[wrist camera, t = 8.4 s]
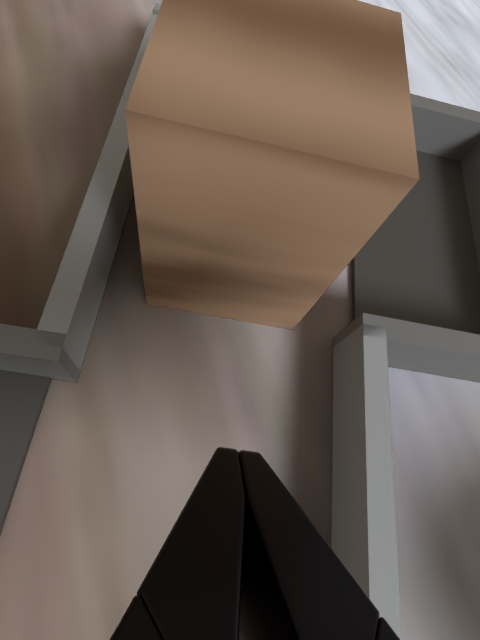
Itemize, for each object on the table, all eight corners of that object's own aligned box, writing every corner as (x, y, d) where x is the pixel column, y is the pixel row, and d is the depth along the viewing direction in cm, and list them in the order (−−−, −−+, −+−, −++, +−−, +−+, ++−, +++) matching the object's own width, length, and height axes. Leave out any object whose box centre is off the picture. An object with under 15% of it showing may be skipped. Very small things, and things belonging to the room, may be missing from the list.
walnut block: (292, 329, 18) (419, 178, 9) (146, 304, 17) (124, 109, 8) (304, 127, 24) (389, -89, 15) (195, 100, 23) (213, -146, 14)
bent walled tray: (618, 959, 12) (756, 1103, 9) (-581, 993, 8) (-957, 1251, 5) (464, 136, 26) (499, 96, 24) (16, 21, 23) (-4, -41, 20)
